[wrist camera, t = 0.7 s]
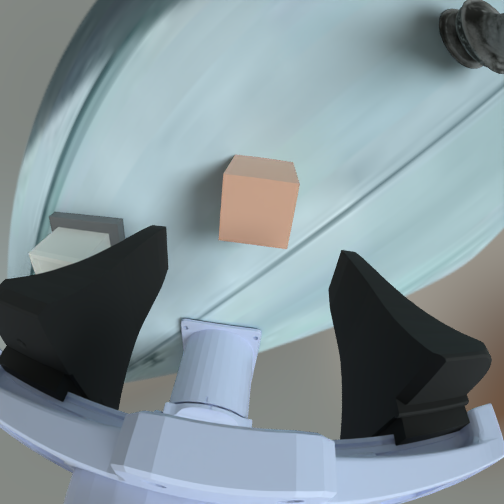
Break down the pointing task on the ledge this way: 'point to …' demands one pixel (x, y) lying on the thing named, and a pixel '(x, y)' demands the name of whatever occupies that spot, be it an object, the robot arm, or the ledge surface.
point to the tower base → (90, 224)
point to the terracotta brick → (258, 201)
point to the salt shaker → (475, 35)
